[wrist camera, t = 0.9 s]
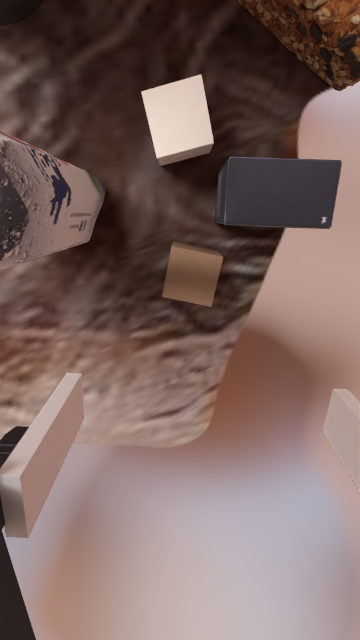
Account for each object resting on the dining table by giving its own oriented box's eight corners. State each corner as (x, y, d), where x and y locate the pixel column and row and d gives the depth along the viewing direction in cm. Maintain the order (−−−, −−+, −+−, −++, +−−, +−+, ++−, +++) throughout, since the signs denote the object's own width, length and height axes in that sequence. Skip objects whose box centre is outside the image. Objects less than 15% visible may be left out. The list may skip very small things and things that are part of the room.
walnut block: (173, 241, 41) (171, 246, 36) (218, 250, 42) (223, 256, 36) (164, 285, 43) (161, 296, 38) (207, 294, 44) (211, 306, 38)
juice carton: (93, 251, 42) (-49, 315, 16) (15, 217, 40) (-274, 226, 15) (117, 184, 39) (-8, 134, 14) (34, 145, 38) (-277, 7, 12)
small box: (304, 170, 38) (346, 156, 28) (296, 226, 40) (333, 231, 31) (217, 168, 38) (229, 152, 28) (213, 224, 40) (223, 228, 31)
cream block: (147, 110, 37) (141, 91, 31) (198, 95, 36) (201, 74, 30) (160, 166, 38) (156, 158, 33) (209, 153, 38) (213, 142, 32)
